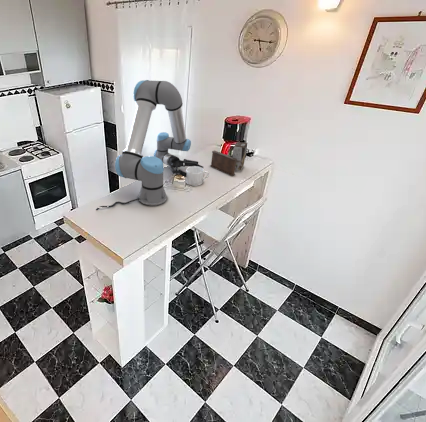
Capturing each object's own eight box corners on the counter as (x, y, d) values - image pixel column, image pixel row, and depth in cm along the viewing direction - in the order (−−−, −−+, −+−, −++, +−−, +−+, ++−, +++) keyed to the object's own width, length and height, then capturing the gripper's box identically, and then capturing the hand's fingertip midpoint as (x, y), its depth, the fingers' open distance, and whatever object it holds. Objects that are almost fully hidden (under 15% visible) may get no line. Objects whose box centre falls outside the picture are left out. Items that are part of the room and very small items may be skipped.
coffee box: (240, 172, 182) (244, 147, 174) (229, 170, 185) (233, 146, 177) (243, 166, 189) (248, 142, 180) (233, 164, 192) (237, 141, 183)
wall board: (210, 166, 192) (211, 151, 186) (213, 165, 193) (214, 150, 187) (231, 176, 178) (234, 160, 173) (235, 175, 180) (237, 159, 174)
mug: (183, 184, 173) (184, 172, 168) (187, 177, 181) (188, 165, 176) (206, 188, 168) (207, 175, 164) (209, 180, 176) (210, 167, 172)
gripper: (185, 161, 196) (209, 172, 180) (156, 171, 185) (178, 183, 170) (186, 150, 191) (210, 160, 176) (156, 160, 181) (178, 172, 166)
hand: (194, 172), depth 173 cm, fingers open, 13 cm apart
